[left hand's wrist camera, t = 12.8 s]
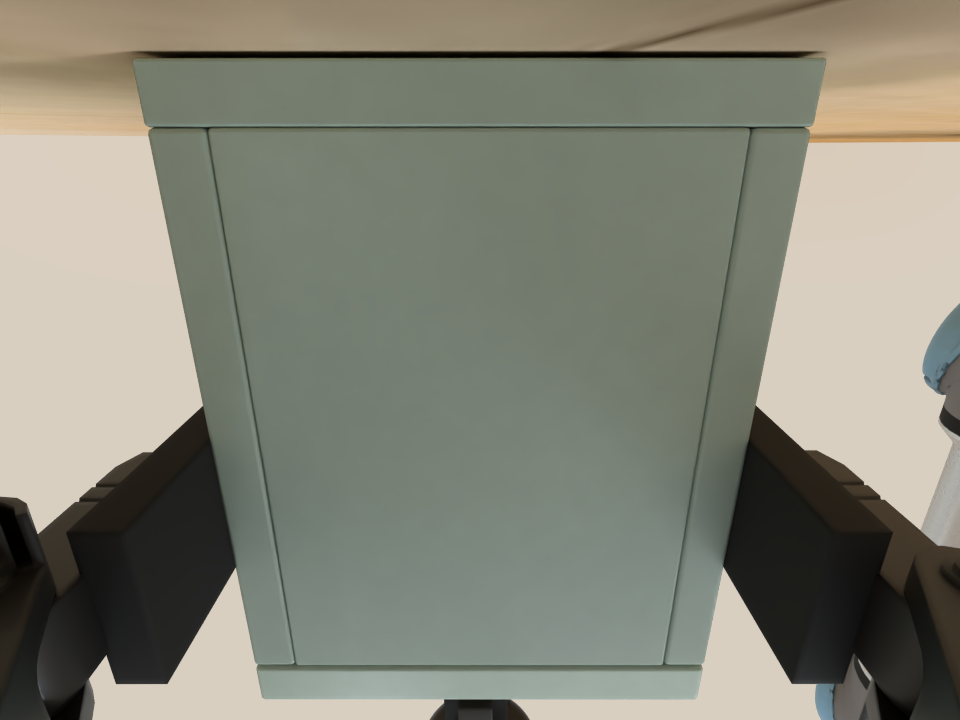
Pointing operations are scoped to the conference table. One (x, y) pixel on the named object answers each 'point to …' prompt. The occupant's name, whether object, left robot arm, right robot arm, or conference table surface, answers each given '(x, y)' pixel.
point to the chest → (479, 339)
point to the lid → (479, 681)
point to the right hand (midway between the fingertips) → (476, 513)
